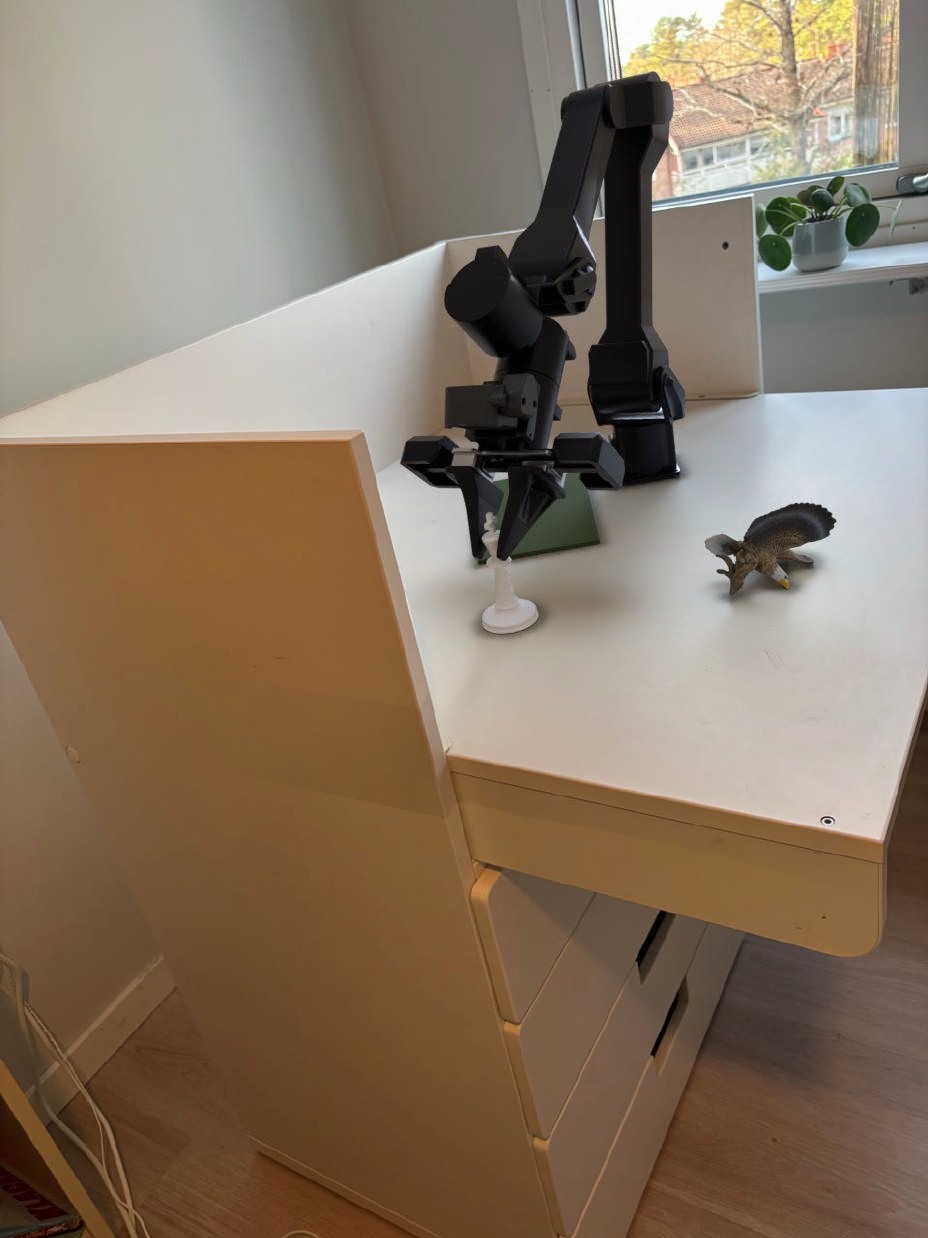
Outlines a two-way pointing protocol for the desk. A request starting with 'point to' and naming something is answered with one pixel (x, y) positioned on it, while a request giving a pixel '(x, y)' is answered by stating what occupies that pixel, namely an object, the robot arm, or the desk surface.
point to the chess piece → (504, 591)
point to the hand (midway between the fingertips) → (488, 558)
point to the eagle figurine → (771, 542)
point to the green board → (555, 522)
